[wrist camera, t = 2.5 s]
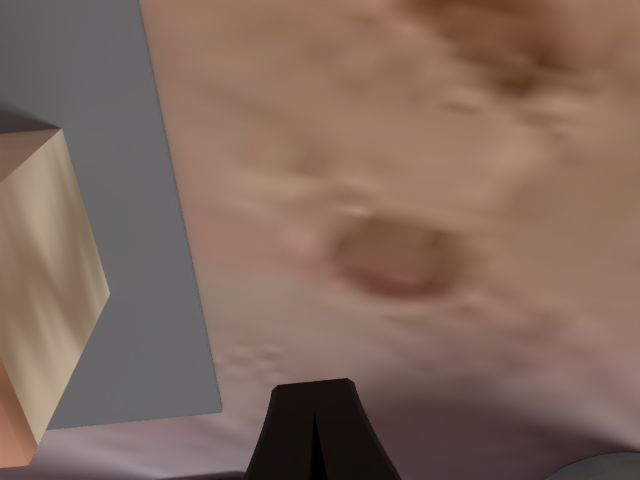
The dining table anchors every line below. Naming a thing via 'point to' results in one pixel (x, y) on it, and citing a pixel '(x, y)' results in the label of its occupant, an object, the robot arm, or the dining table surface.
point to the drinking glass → (602, 468)
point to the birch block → (41, 285)
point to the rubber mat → (114, 205)
